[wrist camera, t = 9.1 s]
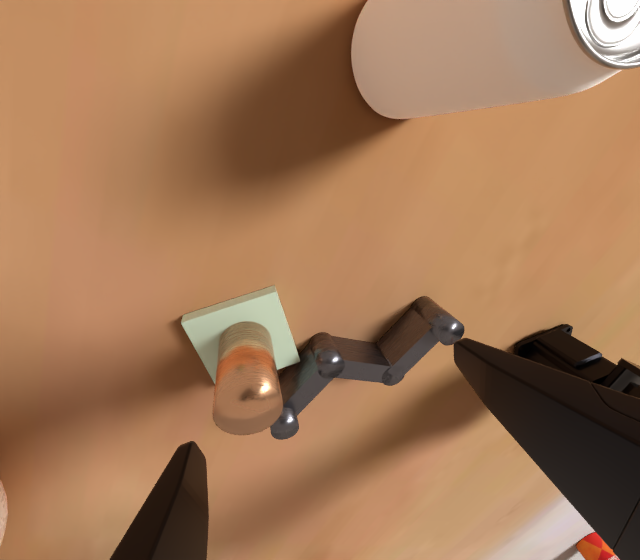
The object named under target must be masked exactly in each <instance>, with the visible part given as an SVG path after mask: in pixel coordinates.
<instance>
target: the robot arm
mask: <svg viewBox="0 0 640 560" xmlns="http://www.w3.org/2000/svg"><path fill="white" fill-rule="evenodd" d="M572 329H573V327H572V326H570V325H568V324H565V325H562V326H560V327H557V328H555V329H552V330H550V331H547V332H544V333H542V334H539V335H537V336H534V337H532V338H529V339H527V340H524V341H521V342H519V343H518V344H516V346H515V352H514V354H511V353H508V352H505V351H502V350H499V349H497V348H494V347H491V346H488V345H485V344H483V343H480V342H477V341H474V340H471V339H468V338H463V339H460V340H457V341H455V342H454V361H455V363H456V365H457V367H458V368H459V370H460V371H461V372H462V374H463V375H464V377H465V378H466V379H467V381H468V382H469V384H470V385H471V386H472V388H473V389H474V391H475V392H476V393H477V395H478V396H479V398H480V399H481V400H482V402H483V403H484V404H485V405H486V407H487V408H488V409H489V410H490V411H491V413H492V414H493V415H494V416H495V417H496V418H497V419H498V421H499V422H500V423H501V424H502V425H503V426H504V427H505V429H506V430H507V431H508V432H509V433H510V434H511V435H512V437H513V438H514V439H515V440H516V441H517V442H518V443H519V445H520V446H521V447H522V448H523V449H524V450H525V451H526V453H527V454H528V455H529V456H530V457H531V458H532V459H533V461H534V462H535V463H536V464H537V465H538V466H539V467H540V469H541V470H542V471H543V472H544V473H545V474H546V476H547V477H548V478H549V479H550V480H551V481H552V482H553V484H554V485H555V486H556V487H557V488H558V489H559V490H560V492H561V493H562V494H563V495H564V496H565V497H566V498H567V500H568V501H569V502H570V503H571V504H572V505H573V506H574V508H575V509H576V510H577V511H578V512H579V513H580V514H581V516H582V517H583V518H584V519H585V520H586V521H587V522H588V524H589V525H590V526H591V527H592V528H593V529H594V530H595V532H596V533H597V534H598V535H599V536H600V537H601V538H602V540H603V541H604V542H605V543H606V544H607V545H608V547H609V548H610V549H612V550H613V553H614V554H615V555H616V556H617V557H618V558H619V559H620V560H640V366H638V365H636V364H634V363H631V362H629V361H627V360H624V359H622V358H621V359H620V361H619V362H618V365H616V364H614V363H612V362H610V361H609V360H607V359H605V358H604V357H602V354H601V353H600V352H598V351H597V350H595V349H593V348H591V347H590V346H588V345H586V344H584V343H583V342H581V341H579V340H578V339H576V338H574V337H572V336H571V333H572ZM208 520H209V514H208V489H207V468H206V459H205V456H204V455H203V453H202V452H201V450H200V449H199V447H198V446H197V444H196V443H195V442H194V441H190V442H188V443H185V444H182V445H180V446H179V447H178V448H177V450H176V452H175V453H174V455H173V457H172V458H171V460H170V461H169V463H168V465H167V466H166V468H165V470H164V471H163V473H162V475H161V476H160V478H159V479H158V481H157V483H156V484H155V486H154V488H153V489H152V491H151V493H150V494H149V496H148V497H147V499H146V501H145V502H144V504H143V506H142V507H141V509H140V511H139V512H138V514H137V515H136V517H135V519H134V520H133V522H132V524H131V525H130V527H129V529H128V530H127V532H126V533H125V535H124V537H123V538H122V540H121V542H120V543H119V545H118V547H117V548H116V550H115V551H114V553H113V555H112V556H111V558H110V560H206V559H207V541H208Z"/></svg>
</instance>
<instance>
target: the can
mask: <svg viewBox="0 0 640 560" xmlns="http://www.w3.org/2000/svg"><path fill="white" fill-rule="evenodd" d="M351 61H352V69H353V74H354V78H355V81H356V84H357V87H358V89H359V91H360V93H361V95H362V96H363V98H364V99H365V101H366V102H367V103H368V105H369V106H370V107H371V108H372V109H373V110H374V111H376V112H377V113H378V114H380V115H382V116H385V117H388V118H393V119H410V118H419V117H426V116H434V115H441V114H448V113H455V112H462V111H469V110H476V109H483V108H490V107H497V106H504V105H511V104H518V103H525V102H531V101H538V100H544V99H550V98H556V97H561V96H566V95H570V94H574V93H578V92H581V91H584V90H586V89H589V88H591V87H593V86H595V85H597V84H599V83H601V82H603V81H604V80H606V79H608V78H610V77H611V76H613V75H614V74H616V73H618V72H619V71H621V70H624V69H632V68H637V67H640V0H368V1H367V2H366V4H365V5H364V7H363V9H362V11H361V13H360V15H359V17H358V20H357V22H356V25H355V29H354V33H353V38H352V47H351Z"/></svg>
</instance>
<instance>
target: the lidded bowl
mask: <svg viewBox="0 0 640 560" xmlns="http://www.w3.org/2000/svg"><path fill="white" fill-rule="evenodd" d="M7 517H8V508H7V495H6V493H5V490H4V487H3V484H2V482H1V480H0V546H1V543H2V540H3V537H4V533H5V529H6V523H7Z"/></svg>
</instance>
